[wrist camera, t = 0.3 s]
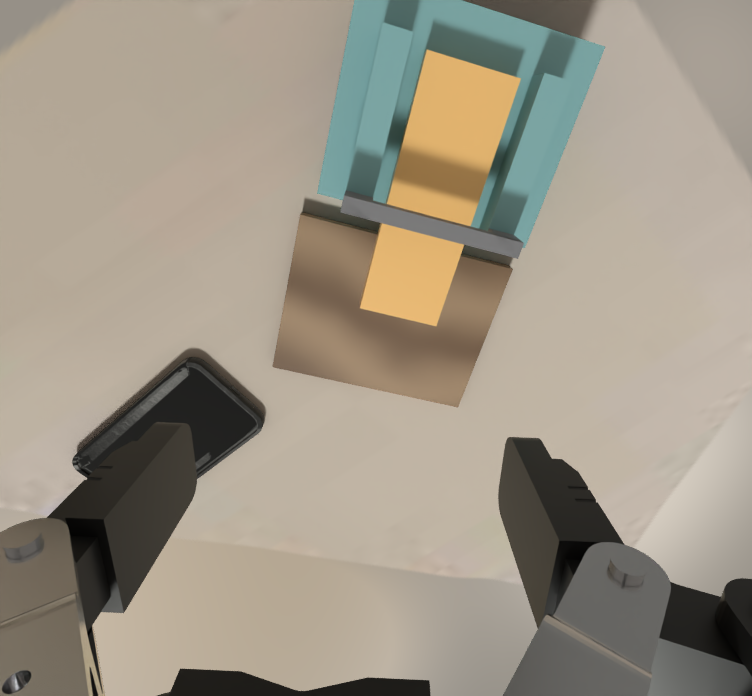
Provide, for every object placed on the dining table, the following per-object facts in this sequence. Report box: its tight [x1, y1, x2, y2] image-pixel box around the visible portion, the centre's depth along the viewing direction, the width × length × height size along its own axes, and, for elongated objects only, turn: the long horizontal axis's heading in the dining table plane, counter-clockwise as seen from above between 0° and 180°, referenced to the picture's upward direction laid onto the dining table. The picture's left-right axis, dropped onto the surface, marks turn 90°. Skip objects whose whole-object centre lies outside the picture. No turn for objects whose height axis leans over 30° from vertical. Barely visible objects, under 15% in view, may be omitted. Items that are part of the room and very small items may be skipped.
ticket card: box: [360, 50, 521, 326], centre depth 25 cm, size 13×5×1 cm, turn 166°
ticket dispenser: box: [317, 0, 605, 259], centre depth 24 cm, size 10×12×8 cm
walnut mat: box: [273, 212, 513, 407], centre depth 32 cm, size 11×14×1 cm
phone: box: [72, 357, 264, 479], centre depth 37 cm, size 8×1×15 cm
